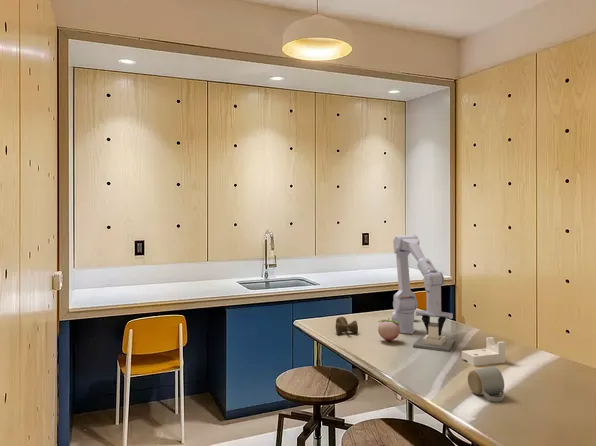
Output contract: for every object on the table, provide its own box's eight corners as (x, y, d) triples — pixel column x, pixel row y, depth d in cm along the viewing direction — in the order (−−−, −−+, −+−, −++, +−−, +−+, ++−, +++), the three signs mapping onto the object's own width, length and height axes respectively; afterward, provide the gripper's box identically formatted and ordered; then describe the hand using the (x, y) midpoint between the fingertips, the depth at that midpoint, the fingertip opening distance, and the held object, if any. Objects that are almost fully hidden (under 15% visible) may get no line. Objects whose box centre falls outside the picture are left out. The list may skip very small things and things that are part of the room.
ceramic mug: (465, 389, 142) (465, 365, 141) (489, 387, 143) (489, 362, 143) (486, 404, 131) (486, 378, 131) (512, 401, 133) (512, 375, 133)
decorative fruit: (376, 343, 192) (376, 319, 192) (378, 338, 200) (378, 315, 200) (400, 345, 190) (399, 320, 189) (401, 339, 198) (400, 316, 197)
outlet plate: (412, 347, 186) (412, 339, 186) (420, 338, 199) (420, 331, 199) (448, 351, 180) (448, 344, 180) (454, 342, 192) (454, 335, 192)
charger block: (428, 338, 188) (428, 324, 188) (430, 336, 192) (430, 322, 192) (438, 340, 187) (438, 325, 187) (440, 337, 190) (440, 323, 190)
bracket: (492, 357, 173) (492, 337, 173) (505, 363, 166) (505, 342, 166) (461, 360, 170) (461, 340, 170) (473, 366, 163) (473, 345, 163)
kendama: (351, 327, 223) (360, 337, 203) (331, 328, 222) (339, 338, 202) (350, 314, 223) (359, 323, 203) (330, 316, 222) (338, 325, 202)
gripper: (413, 301, 189) (413, 335, 189) (450, 304, 182) (450, 339, 182) (417, 298, 195) (418, 330, 195) (453, 301, 188) (453, 334, 188)
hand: (434, 334), depth 189 cm, fingers closed on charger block, 4 cm apart
